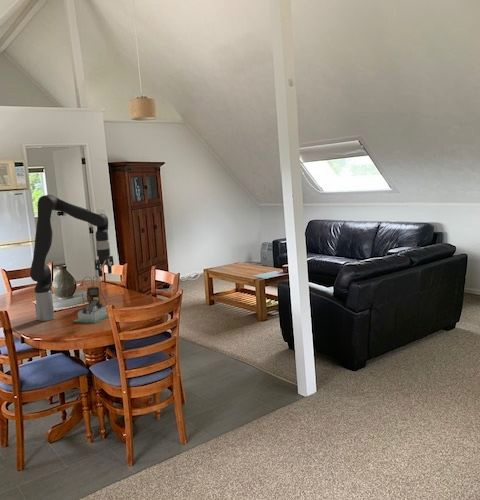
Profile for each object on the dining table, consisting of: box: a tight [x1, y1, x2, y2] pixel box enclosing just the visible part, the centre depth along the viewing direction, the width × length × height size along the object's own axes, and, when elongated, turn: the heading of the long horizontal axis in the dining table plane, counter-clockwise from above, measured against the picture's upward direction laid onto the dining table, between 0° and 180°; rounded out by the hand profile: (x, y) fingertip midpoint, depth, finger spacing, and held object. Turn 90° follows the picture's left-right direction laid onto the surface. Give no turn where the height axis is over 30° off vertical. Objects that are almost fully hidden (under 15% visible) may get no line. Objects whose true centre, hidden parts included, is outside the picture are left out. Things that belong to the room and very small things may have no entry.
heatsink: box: [72, 303, 109, 324], centre depth 296 cm, size 16×19×7 cm
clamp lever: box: [85, 297, 99, 313], centre depth 294 cm, size 12×3×2 cm
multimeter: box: [81, 275, 108, 307], centre depth 319 cm, size 15×10×20 cm
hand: (105, 275), depth 294 cm, fingers open, 8 cm apart
